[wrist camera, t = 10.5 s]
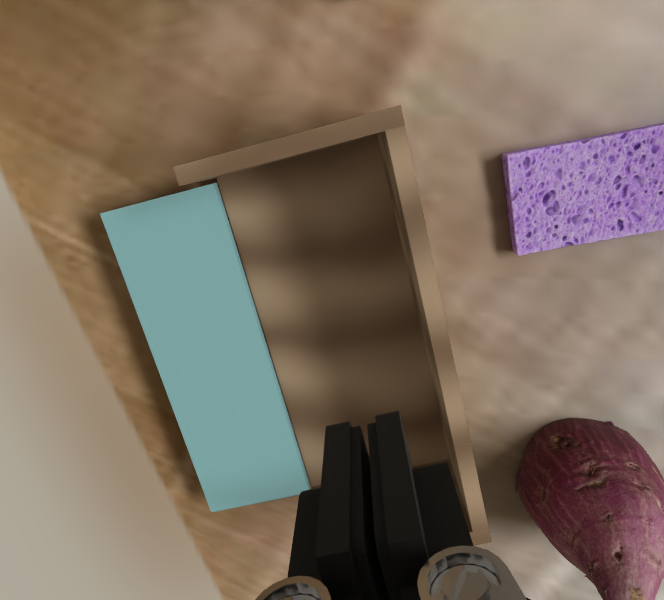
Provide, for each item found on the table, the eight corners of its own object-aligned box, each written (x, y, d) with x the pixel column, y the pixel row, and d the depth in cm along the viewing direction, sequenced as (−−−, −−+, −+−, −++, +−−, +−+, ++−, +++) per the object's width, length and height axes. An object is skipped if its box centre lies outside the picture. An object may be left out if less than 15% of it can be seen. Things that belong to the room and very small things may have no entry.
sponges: (498, 153, 36) (506, 153, 34) (688, 116, 35) (707, 115, 33) (508, 252, 38) (516, 257, 36) (689, 220, 37) (706, 224, 35)
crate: (217, 162, 36) (173, 166, 27) (387, 116, 35) (400, 104, 26) (315, 485, 43) (307, 576, 34) (460, 456, 42) (491, 541, 33)
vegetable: (515, 503, 47) (527, 680, 34) (511, 407, 43) (522, 567, 30) (649, 511, 44) (719, 711, 31) (658, 409, 40) (742, 589, 27)
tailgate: (218, 181, 35) (109, 211, 36) (213, 183, 34) (99, 213, 35) (310, 481, 42) (215, 500, 43) (309, 492, 40) (211, 512, 41)
